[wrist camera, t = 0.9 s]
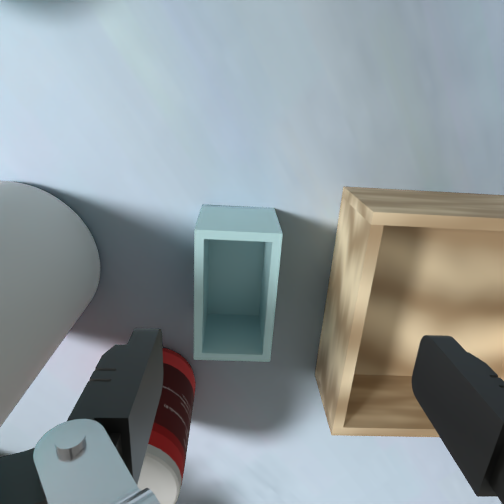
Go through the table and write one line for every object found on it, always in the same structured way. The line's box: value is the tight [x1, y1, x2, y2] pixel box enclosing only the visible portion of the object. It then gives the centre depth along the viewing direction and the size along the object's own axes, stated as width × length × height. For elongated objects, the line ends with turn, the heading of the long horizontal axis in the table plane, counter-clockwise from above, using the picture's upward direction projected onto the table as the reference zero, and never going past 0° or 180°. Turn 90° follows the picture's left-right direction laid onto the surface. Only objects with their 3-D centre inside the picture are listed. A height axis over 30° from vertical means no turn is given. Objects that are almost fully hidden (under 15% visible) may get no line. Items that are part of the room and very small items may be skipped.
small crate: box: [194, 205, 283, 362], centre depth 29 cm, size 10×6×6 cm, turn 176°
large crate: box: [315, 187, 504, 437], centre depth 30 cm, size 18×18×7 cm
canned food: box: [137, 348, 195, 504], centre depth 31 cm, size 8×8×11 cm
